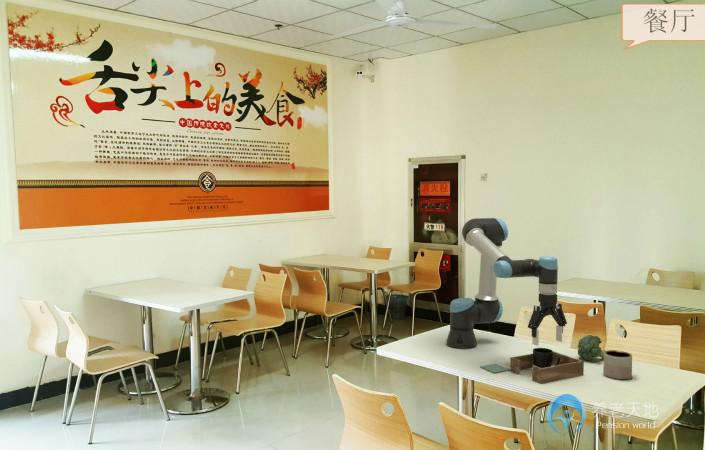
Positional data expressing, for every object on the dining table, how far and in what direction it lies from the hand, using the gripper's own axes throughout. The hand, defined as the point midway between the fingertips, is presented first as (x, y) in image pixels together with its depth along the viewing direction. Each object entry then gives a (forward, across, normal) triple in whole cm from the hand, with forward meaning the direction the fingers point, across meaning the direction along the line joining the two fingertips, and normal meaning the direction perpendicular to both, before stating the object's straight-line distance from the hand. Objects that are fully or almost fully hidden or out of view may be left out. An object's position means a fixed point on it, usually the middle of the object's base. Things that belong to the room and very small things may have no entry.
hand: (547, 342), depth 234 cm
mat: (+13, -16, +14) cm, 25 cm away
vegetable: (+13, +34, +5) cm, 37 cm away
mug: (+13, 0, 0) cm, 13 cm away
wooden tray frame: (+13, 0, 0) cm, 13 cm away
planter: (+14, +24, -16) cm, 32 cm away
